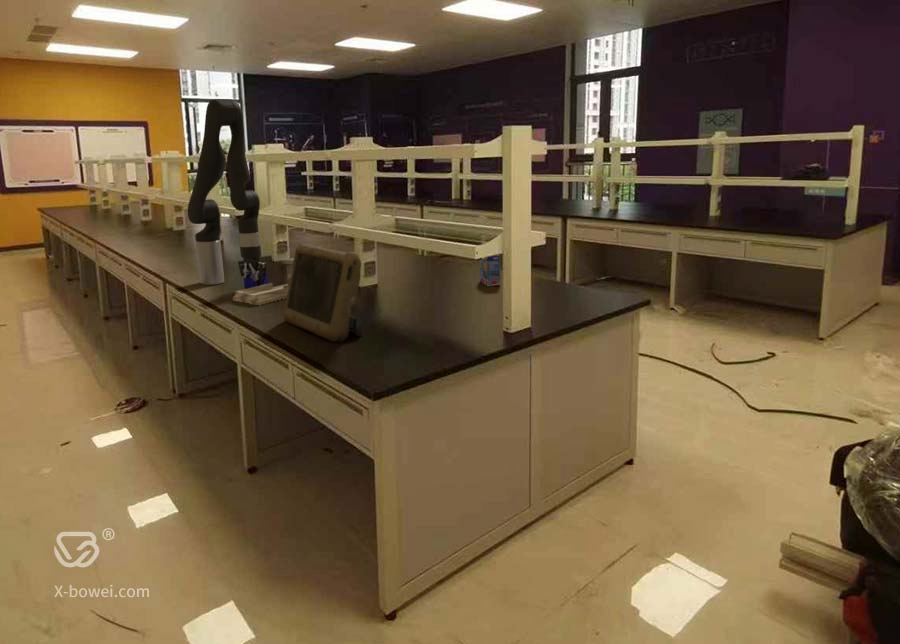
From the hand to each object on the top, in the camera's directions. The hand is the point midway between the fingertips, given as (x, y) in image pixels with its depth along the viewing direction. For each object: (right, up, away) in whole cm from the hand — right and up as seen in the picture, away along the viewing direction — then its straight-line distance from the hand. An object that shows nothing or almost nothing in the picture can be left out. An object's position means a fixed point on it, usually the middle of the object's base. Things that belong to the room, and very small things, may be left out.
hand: (254, 288), depth 247 cm
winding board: (+10, -3, -8) cm, 13 cm away
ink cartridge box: (+90, +2, +9) cm, 91 cm away
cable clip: (0, -1, +1) cm, 1 cm away
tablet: (+36, -15, -50) cm, 64 cm away
